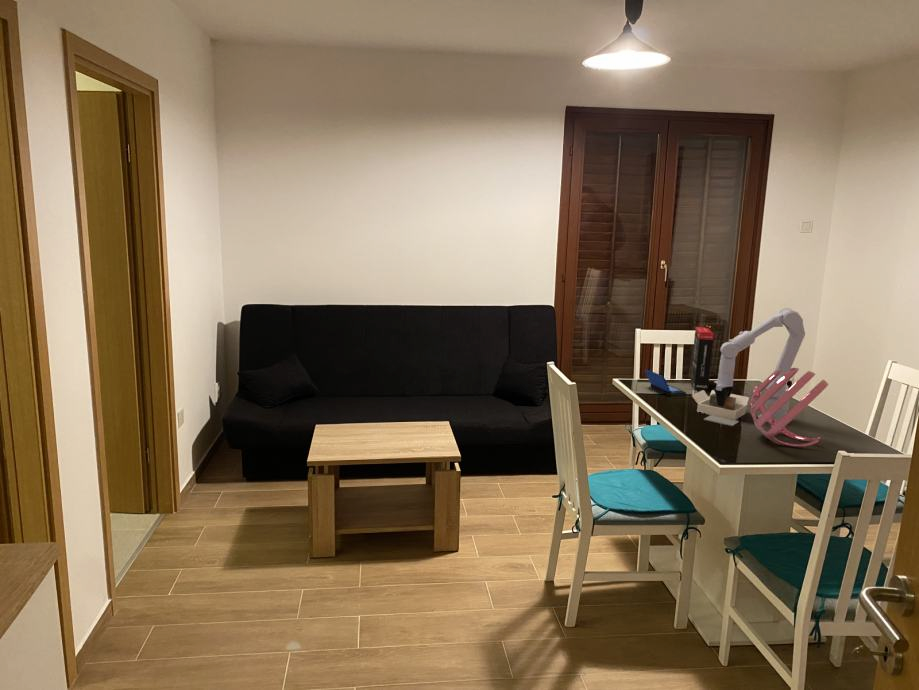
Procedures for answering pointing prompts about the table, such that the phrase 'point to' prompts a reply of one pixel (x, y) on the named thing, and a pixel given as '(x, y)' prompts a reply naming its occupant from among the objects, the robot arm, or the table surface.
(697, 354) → the graphics card box
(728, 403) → the capped block
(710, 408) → the carton
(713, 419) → the grey mat
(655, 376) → the handheld game console
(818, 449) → the table surface
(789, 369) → the robot arm
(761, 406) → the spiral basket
